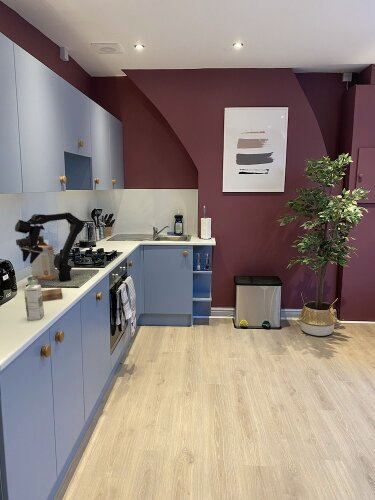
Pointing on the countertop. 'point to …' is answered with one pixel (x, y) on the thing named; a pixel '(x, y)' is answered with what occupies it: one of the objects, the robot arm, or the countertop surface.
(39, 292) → the syrup box
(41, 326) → the countertop surface
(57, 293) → the walnut block
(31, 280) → the spice tin
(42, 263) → the cracker box
